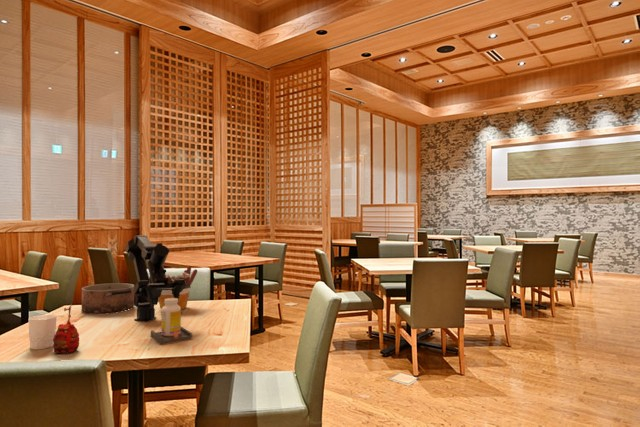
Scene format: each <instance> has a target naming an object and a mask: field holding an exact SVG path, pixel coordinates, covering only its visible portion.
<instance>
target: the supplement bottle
mask: <svg viewBox="0 0 640 427" xmlns="http://www.w3.org/2000/svg"><path fill="white" fill-rule="evenodd" d="M164 303H165V306H164V307H162V309H161V323H160V324H161V325H160V326H161V327H160V328H161V329H160V330H161V331H160V332H161V334H162V335H163V336H174V332H178V335H179V334H180V332H181V327H182V326H181V325H182V324H181V323H182V322H181V321H182V319H181V317H182V316H181V315H182V310H181V308H180V306H179V305H177V303H178V299H177V298H168V299H165V300H164Z"/></svg>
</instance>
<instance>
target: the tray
mask: <svg viewBox="0 0 640 427" xmlns="http://www.w3.org/2000/svg"><path fill="white" fill-rule="evenodd" d="M150 338H151V339H153V340H154V341H156V342H157V343H158V344H160V345H166V344H172V343H178V341H179V342H184V341H189V340H192V339H193V333H192V332H191V331H189V330H187V329H186V328H185V327H182V326H181V332H180V334H179V335H178V332H174V336H163V335H162V334H161V331H158V332H156V331H155V330H152V329H151V330H150Z"/></svg>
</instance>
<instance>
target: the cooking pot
mask: <svg viewBox="0 0 640 427" xmlns="http://www.w3.org/2000/svg"><path fill="white" fill-rule="evenodd" d="M134 287H135V284H132V283H124V282H122V283H121V282H120V283H119V282H118V283H117V282H115V283H114V282H113V283H110V282H109V283H100V284H99V283H97V284H90V285H87V286H83V287H82V288H81V312H82V313H83V314H84V313H85V314H88V315H107V314H106V313H109V314H116V312H118V313H122V312H121V311H123V312H126V311H125V310H127V311H129V310H128V309H130V310H132V309H133V308H134V307H135V306H134V298H135V294H134ZM131 308H132V309H131Z"/></svg>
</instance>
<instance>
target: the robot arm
mask: <svg viewBox="0 0 640 427" xmlns="http://www.w3.org/2000/svg"><path fill="white" fill-rule="evenodd" d="M125 253H126V254H127V257H128V258H129V259H130V260H132V262H133V266H134V270H135V274H136V284H134V307H136V318H134V321H137V322H149V321H153V320H155V319H157V317H156V316H155V315H156V314H155V313H156V312H155V311H156V309H155V306H158V304H159V300H158V297H160V296H161V293H162V289H171V291H172V294H173V296H174V298H177V299H178V300H179V294H180V292H182V290H183V289H184V287H185V286H186V281H185V280H184V279H175V281H174V282H173V283H168V280H169V279H168V278H166V275H167V269H165V266H164V264H165V263H166V260H167V258H168V256H169V253H170V250H169V248H168V247H167V246H166V245H163V243H162V242H156V244H154V243H153V242H151V240H150V239H148V236H147V235H145V234H143V235H141V234H140V235H135V236H133V238H132V239H130V240H128V241H127V243H126V245H125ZM146 261H147V263H146ZM177 304H178V303H177Z"/></svg>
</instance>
